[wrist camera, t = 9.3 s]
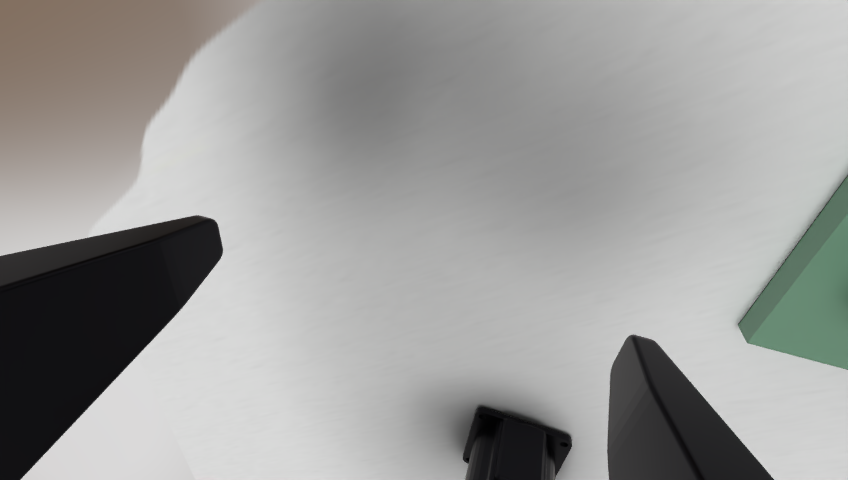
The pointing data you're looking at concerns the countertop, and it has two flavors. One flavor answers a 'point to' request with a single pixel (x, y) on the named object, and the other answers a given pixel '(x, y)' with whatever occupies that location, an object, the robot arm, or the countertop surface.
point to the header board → (809, 294)
